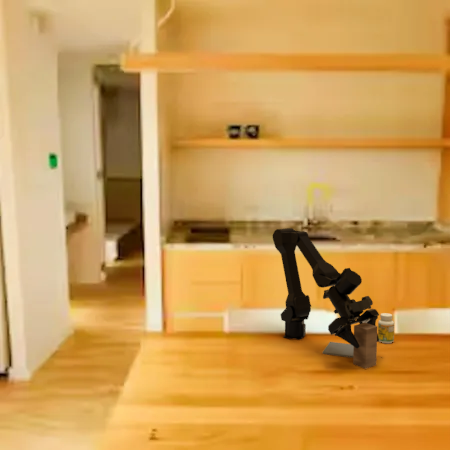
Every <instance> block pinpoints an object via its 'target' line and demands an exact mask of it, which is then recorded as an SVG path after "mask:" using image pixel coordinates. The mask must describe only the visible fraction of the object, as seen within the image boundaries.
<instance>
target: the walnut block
mask: <svg viewBox="0 0 450 450" xmlns="http://www.w3.org/2000/svg"><path fill="white" fill-rule="evenodd" d="M353 334H354V336H355V338H356V340H357V342H358V344H359V346H360V347H359V348H356V347H354V350H353V358H352V364H353V365H354V366H357V367H360V368H362V369H369V368H373V367H374V366H377V351H378V350H377V347H378V342H377V334H378V325H376V326H374V325H371V324H367V323H362V324H360V323H357V324H356V325H355V324H354V325H353Z"/></svg>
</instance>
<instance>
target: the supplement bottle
mask: <svg viewBox="0 0 450 450" xmlns="http://www.w3.org/2000/svg"><path fill="white" fill-rule="evenodd" d="M379 316H380V317H379V318H380V319H379V320H378V321H377V322H378V323H377V324H378V325H377V334H378V338H379V341H378V342H379V343H381V342H382V344H392V342H393V343H394V341H395V340H394V339H395V321H394V320H393V314H392V313H388V312H382V313H380V314H379Z"/></svg>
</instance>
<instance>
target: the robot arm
mask: <svg viewBox="0 0 450 450" xmlns="http://www.w3.org/2000/svg"><path fill="white" fill-rule="evenodd" d="M272 240H273V244H274V247H275V249H276V250H277V251H278V253H279V254H280V256H281V261H282V262H281V263H282V268H283V272H284V273H283V274H284V278H285V282H286V288H287V296H286V299H285V309H284V310H283V311H282V312H281V313H280V319H281V321H283V322H284V335H283V338H284V339H291V340H297V341H298V340H302V339H304V337H305V336H306V328H307V327H306V325H307V324H306V323H305V320H308V319H309V315H310V313H311V311H312V309H311V307H312V304H311V301H310V300H311V299H310V295H308V294H305V293H304V291H303V289H302V284H301V279H300V277H301V276H300V273H299V268H298V262H297V258H296V248H298V250H299V251H300V252H301V254H302V255H303V257H304V258H305V260H306V261H307V263H308V264H309V266H310V268H311V270H312V278H313V279H314V281H315V284H316V285H317V286H318V288H323V289H324V288H328V287H329V288H328V289H325V290H323V295H322V299H323V300H326V299H329V301H330V302H331V304H332V306H333V307H334V310H333V312H334V315H336V314H338V315H339V317H336V318H334V320H333V321H331V322H330V323H329V324H328V328H327V330H328V332H329V334H330V335H331V336H333V335H334V336H335V337H338V338H340V339H341V340H343V341H345V342H347V344H351V345H353V346H354V347H356V348H359V347H360V346H359V344H358V342H357V340H356V338H355V336H354V332H353V331H352V325H355V324H356V325H357V324H362V323H367V324H371V325H374V326H377V325H376V323H377V322H376V321H377V319H379V317H378V316H380V313H379V312H378V310H377V309H376V308H372V305H373V303H374V302H373V300H372V298H371V297H370V296H369V295H366V296H363V297H361V300H358V301H356V300H355V299H354V298H352V299H351V298H350V295H351V294H352V293H354V292H355V290H357V288H358V287H359V286H361V285H362V280H363V279H362V277H361V275H360V274H358V273H357V272H356V271H354V270H352V269H351V268H350V267H348V268H346V267H345V268H344V269H343V270H342V272H341V273H340V272H339V271H338V270H337V269H336V267H334V266H333V264H331V263H329V262H327V261H326V260H325V259H324V258H323V256H322V255H321V253H320V251H319V250H318V249H317V247H316V246H315V245H314V243H313V242H312V240H311V238H310V237H309V233H308V232H307V231H305V230H296V229H294V228H292V227H287V228H285V227H284V228H276V229H274V231H273V234H272ZM378 342H379V338H378V333H377V343H378Z"/></svg>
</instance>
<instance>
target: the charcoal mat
mask: <svg viewBox="0 0 450 450" xmlns="http://www.w3.org/2000/svg"><path fill="white" fill-rule="evenodd" d="M353 350H354V346H353V345H351V344H350V343H342V342H335V341H329V343H327V346H326V347H325V348H324V349H323V351H322V355H329V356H337V357H344V358H350V359H351V358H352V359H353Z"/></svg>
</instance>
